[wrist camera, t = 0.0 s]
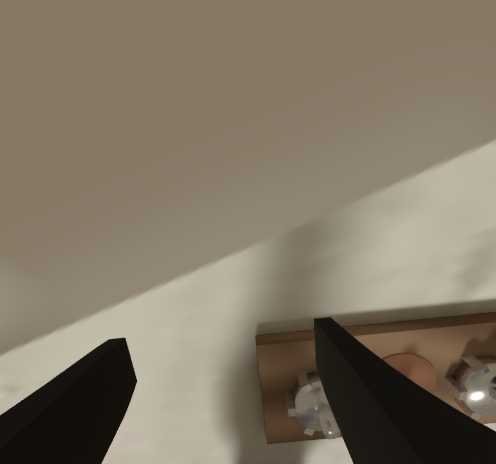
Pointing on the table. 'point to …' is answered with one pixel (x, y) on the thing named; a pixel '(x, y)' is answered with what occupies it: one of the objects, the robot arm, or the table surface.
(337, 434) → the mounted gears
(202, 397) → the table surface
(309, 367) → the gear board
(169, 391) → the table surface
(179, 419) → the table surface
